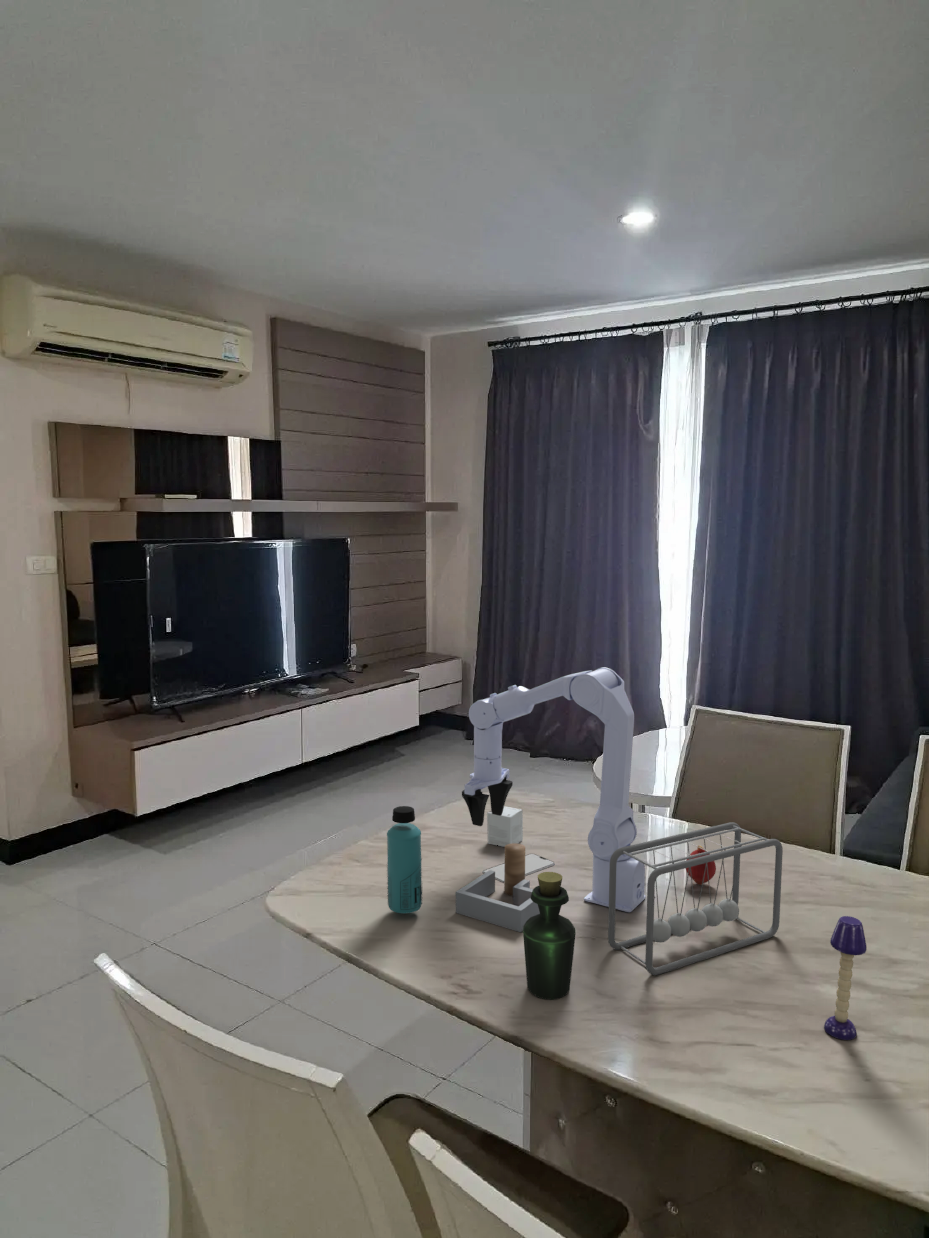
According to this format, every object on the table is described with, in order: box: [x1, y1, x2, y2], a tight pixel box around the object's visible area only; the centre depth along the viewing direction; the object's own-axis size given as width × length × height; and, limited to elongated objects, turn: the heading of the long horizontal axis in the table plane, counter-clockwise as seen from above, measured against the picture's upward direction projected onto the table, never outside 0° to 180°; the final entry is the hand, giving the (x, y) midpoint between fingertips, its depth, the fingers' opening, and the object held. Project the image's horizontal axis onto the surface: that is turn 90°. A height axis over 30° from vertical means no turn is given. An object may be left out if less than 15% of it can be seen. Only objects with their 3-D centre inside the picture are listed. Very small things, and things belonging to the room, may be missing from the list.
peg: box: [503, 843, 526, 897], centre depth 167 cm, size 4×4×9 cm
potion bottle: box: [522, 871, 576, 1000], centre depth 131 cm, size 8×8×18 cm
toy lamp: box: [823, 915, 868, 1041], centre depth 120 cm, size 5×5×17 cm
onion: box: [684, 845, 717, 886], centre depth 170 cm, size 6×6×8 cm
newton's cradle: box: [607, 821, 784, 976], centre depth 146 cm, size 30×10×18 cm, turn 119°
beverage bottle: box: [386, 805, 424, 914], centre depth 156 cm, size 6×7×20 cm
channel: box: [455, 870, 540, 933], centre depth 159 cm, size 14×12×4 cm
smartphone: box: [482, 853, 556, 883], centre depth 178 cm, size 7×1×15 cm
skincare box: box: [486, 805, 524, 848], centre depth 193 cm, size 6×6×7 cm
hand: (487, 819), depth 178 cm, fingers open, 7 cm apart
